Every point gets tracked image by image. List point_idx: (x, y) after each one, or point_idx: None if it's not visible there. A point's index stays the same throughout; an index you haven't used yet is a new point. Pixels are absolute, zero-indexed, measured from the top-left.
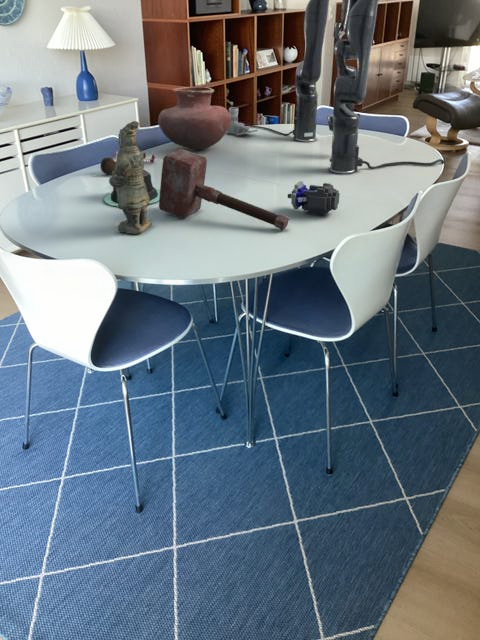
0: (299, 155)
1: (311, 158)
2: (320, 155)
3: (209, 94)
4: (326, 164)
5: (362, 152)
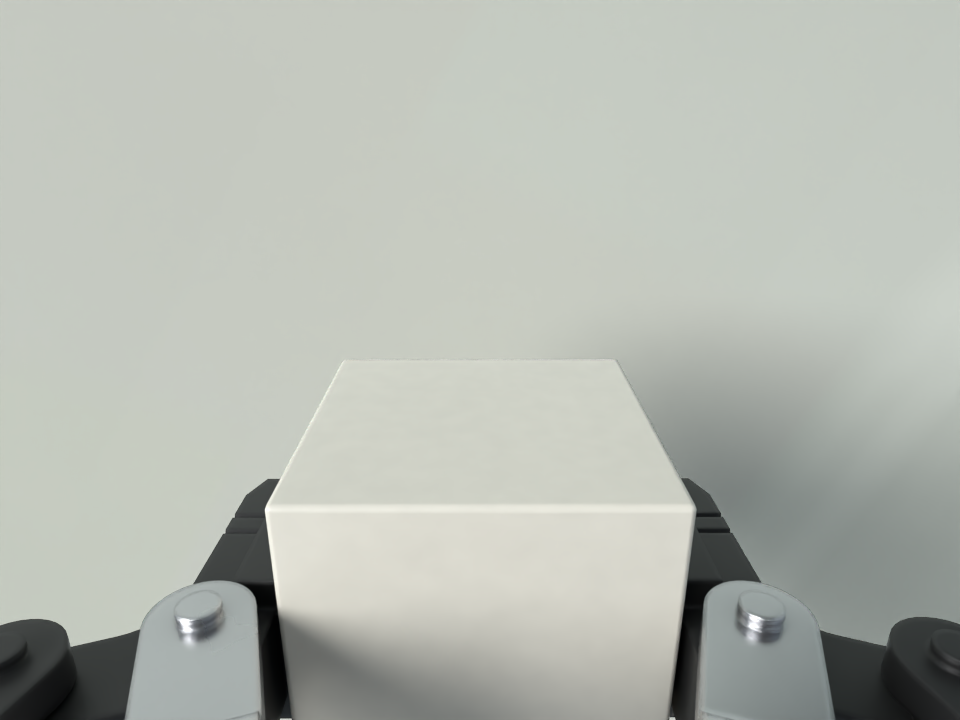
0: None
1: (892, 481)
2: None
3: None
4: (945, 70)
5: (51, 467)
